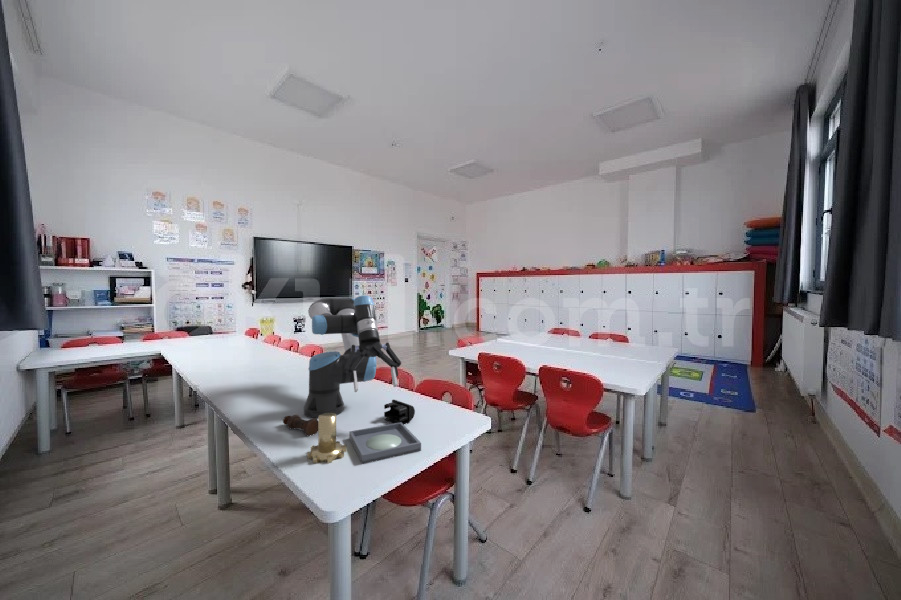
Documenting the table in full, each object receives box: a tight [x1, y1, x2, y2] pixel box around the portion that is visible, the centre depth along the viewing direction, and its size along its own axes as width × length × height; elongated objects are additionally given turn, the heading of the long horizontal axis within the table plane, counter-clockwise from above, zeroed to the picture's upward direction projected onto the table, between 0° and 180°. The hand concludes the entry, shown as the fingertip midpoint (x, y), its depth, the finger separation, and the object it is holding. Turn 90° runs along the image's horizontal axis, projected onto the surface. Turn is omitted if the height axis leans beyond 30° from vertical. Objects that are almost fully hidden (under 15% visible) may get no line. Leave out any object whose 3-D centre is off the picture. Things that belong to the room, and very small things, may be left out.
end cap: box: [383, 399, 416, 426], centre depth 126 cm, size 10×7×7 cm
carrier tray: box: [348, 422, 422, 465], centre depth 106 cm, size 18×18×2 cm
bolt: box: [282, 414, 318, 437], centre depth 116 cm, size 6×5×15 cm
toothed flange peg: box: [306, 413, 347, 464], centre depth 99 cm, size 11×11×12 cm
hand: (376, 388), depth 115 cm, fingers open, 13 cm apart
